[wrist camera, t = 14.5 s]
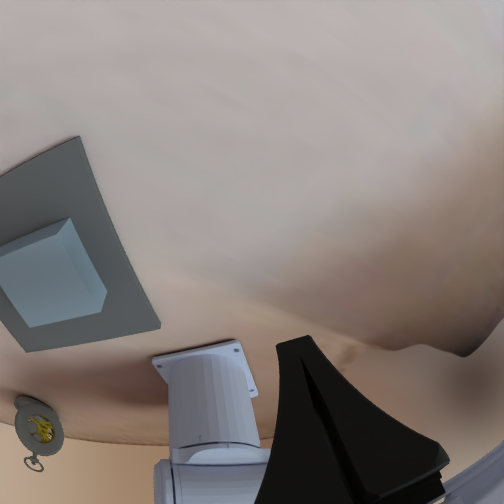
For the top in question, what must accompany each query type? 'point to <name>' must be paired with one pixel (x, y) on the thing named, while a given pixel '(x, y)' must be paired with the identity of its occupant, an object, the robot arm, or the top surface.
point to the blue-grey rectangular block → (50, 276)
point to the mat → (92, 237)
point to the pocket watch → (37, 428)
